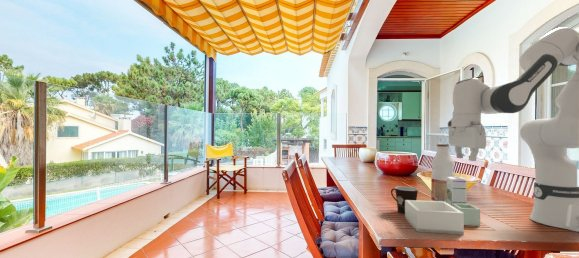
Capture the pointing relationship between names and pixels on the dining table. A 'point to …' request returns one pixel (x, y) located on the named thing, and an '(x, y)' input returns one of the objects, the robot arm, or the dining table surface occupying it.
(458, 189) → the syrup box
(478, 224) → the small crate
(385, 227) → the dining table surface
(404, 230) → the dining table surface
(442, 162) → the fruit juice
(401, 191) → the coffee mug
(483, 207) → the dining table surface
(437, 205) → the box
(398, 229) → the dining table surface
